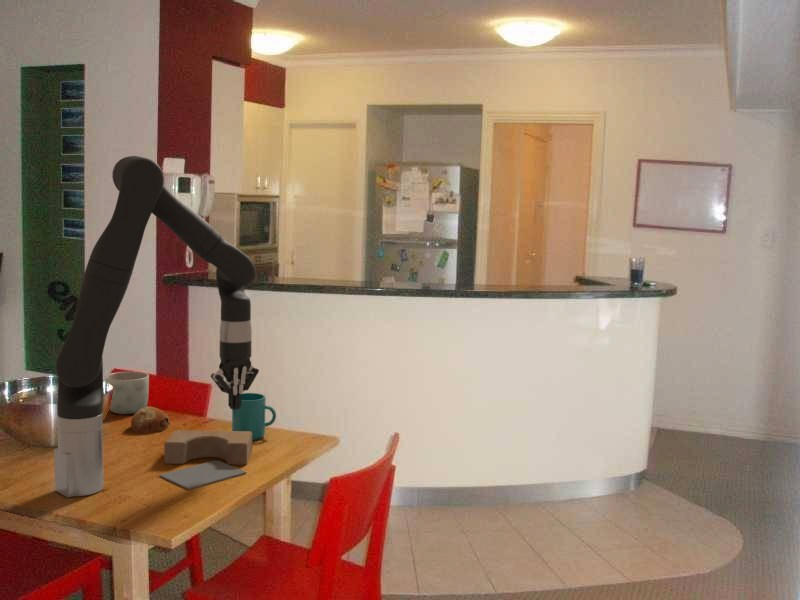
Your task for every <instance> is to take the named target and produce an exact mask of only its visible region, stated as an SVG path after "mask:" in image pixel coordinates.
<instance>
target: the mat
mask: <svg viewBox="0 0 800 600" xmlns="http://www.w3.org/2000/svg"><path fill="white" fill-rule="evenodd" d="M246 474H247V471H245V470H242V469H241V468H238V467H235V466H234V465H228V464H227V463H225V462H222V461H220V460H217V459H215V460H212V461H207V462H204V463H200V464H195V465H193V466H188V467H184V468H181V469H177V470H172V471H170V472H165V473H161V474H159V477H160V478H161V479H164V480H167V481H168V482H171V483H173V484H175V485H177V486H180V487H182V488H183V489H185V490H189V491H190V490H192V489H197V488H200V487H204V486H207V485H211V484H215V483H217V482H221V481H225V480H228V479H232V478H236V477H239V476H243V475H246Z"/></svg>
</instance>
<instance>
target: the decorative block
mask: <svg viewBox="0 0 800 600" xmlns="http://www.w3.org/2000/svg"><path fill="white" fill-rule="evenodd" d="M163 447H164V451H163V452H164V454H163V455H164V458H163V459H164V463H165V465H184V464H185V463H187V462H189V461H191V460H196V459H200V458H214V459H216V458H218V459H221V460H223V461H226V464H228V465H230V466H246V465H247V464H248V462H249V460H250V457H251V454H252V451H253V440H252V432H251V431H232V430H190V429H189V430H187V429H184V430H183V429H179V430H178V429H175V430H174V431H173V432H172V433H171V435H170V436H169V437H168V438H167V440H166V441H165V442H164V446H163Z"/></svg>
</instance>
